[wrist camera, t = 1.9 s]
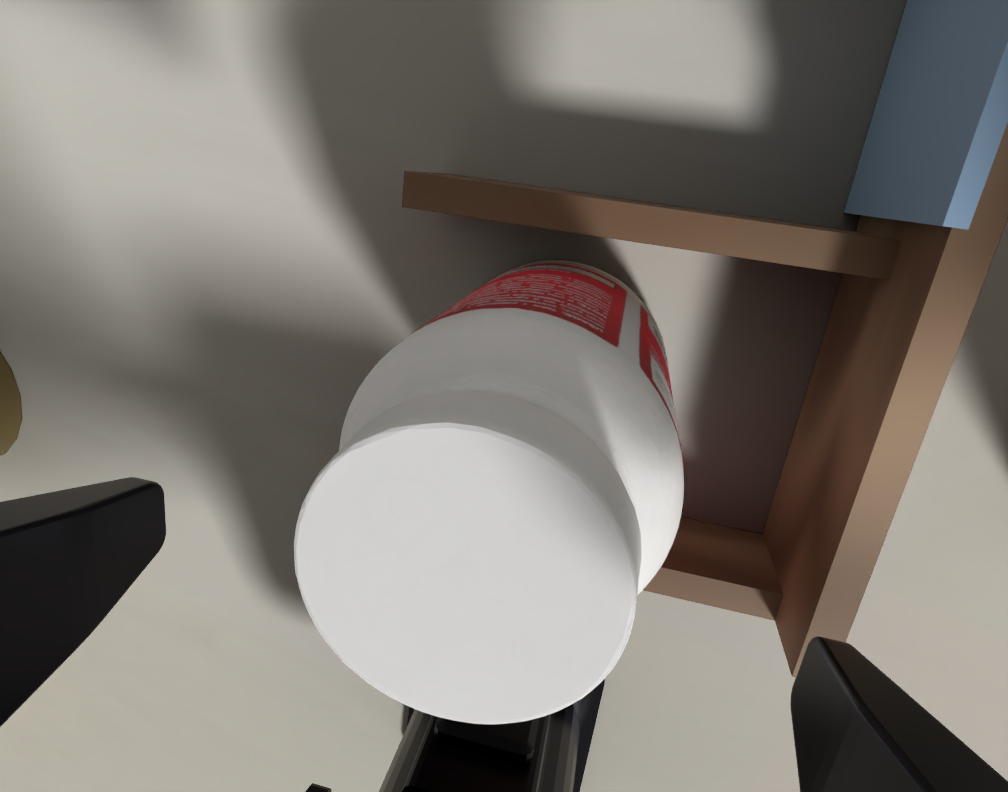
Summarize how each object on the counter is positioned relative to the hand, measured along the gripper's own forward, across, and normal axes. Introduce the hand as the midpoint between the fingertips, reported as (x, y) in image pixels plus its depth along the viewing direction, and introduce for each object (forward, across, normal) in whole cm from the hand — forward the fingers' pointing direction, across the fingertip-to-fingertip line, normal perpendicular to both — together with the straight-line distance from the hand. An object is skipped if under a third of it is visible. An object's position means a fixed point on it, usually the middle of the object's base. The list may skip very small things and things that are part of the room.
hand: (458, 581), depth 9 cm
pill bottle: (+11, 0, 0) cm, 11 cm away
